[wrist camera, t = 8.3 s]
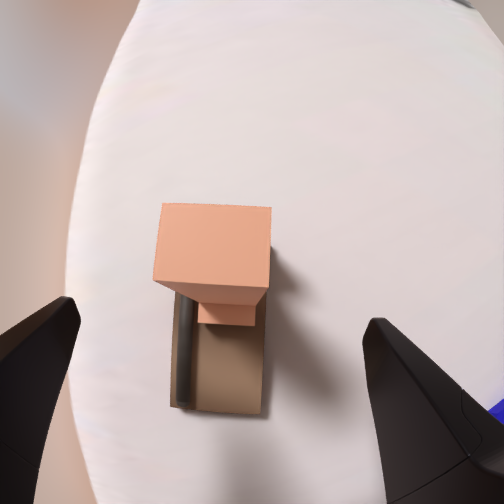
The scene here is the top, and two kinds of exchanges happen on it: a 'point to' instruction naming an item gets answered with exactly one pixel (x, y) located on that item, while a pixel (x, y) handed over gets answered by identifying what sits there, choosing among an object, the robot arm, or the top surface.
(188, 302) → the grey block holder
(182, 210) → the block
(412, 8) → the top surface
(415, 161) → the top surface
